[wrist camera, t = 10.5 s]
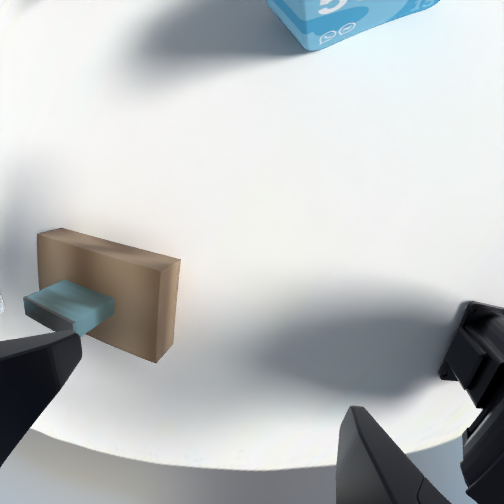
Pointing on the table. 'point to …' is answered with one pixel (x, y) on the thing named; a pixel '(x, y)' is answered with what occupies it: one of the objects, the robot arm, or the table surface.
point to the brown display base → (106, 292)
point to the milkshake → (1, 305)
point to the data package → (339, 17)
